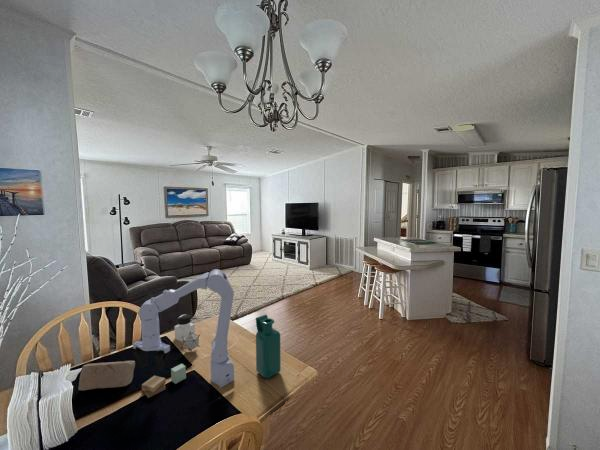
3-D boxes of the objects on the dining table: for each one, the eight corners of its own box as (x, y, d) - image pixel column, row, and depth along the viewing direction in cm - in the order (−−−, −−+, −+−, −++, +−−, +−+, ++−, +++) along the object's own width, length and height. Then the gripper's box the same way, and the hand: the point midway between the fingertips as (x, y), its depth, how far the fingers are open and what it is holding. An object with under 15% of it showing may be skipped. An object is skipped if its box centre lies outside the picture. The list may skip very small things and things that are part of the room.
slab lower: (165, 391, 98) (165, 386, 97) (148, 399, 93) (147, 394, 93) (159, 383, 102) (159, 378, 101) (142, 391, 97) (142, 386, 97)
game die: (204, 347, 127) (203, 327, 126) (195, 357, 118) (194, 336, 117) (186, 346, 127) (186, 326, 127) (177, 356, 119) (176, 335, 118)
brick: (135, 359, 104) (131, 362, 100) (132, 382, 102) (128, 386, 98) (87, 362, 100) (80, 366, 96) (83, 387, 98) (76, 391, 93)
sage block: (186, 378, 104) (185, 366, 104) (175, 384, 100) (174, 371, 100) (182, 375, 106) (181, 363, 105) (171, 381, 102) (170, 369, 102)
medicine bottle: (195, 337, 136) (194, 315, 135) (182, 343, 130) (182, 320, 129) (187, 333, 140) (186, 312, 139) (174, 339, 134) (173, 317, 133)
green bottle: (282, 371, 108) (282, 320, 106) (265, 380, 102) (265, 326, 101) (269, 360, 115) (268, 313, 114) (252, 368, 110) (252, 318, 108)
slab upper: (165, 383, 99) (165, 378, 99) (153, 393, 94) (153, 387, 94) (154, 380, 101) (154, 375, 101) (141, 389, 95) (141, 384, 95)
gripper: (175, 329, 98) (176, 364, 99) (143, 326, 101) (144, 359, 102) (161, 339, 91) (163, 376, 92) (127, 334, 94) (129, 370, 95)
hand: (152, 368), depth 97 cm, fingers open, 7 cm apart
